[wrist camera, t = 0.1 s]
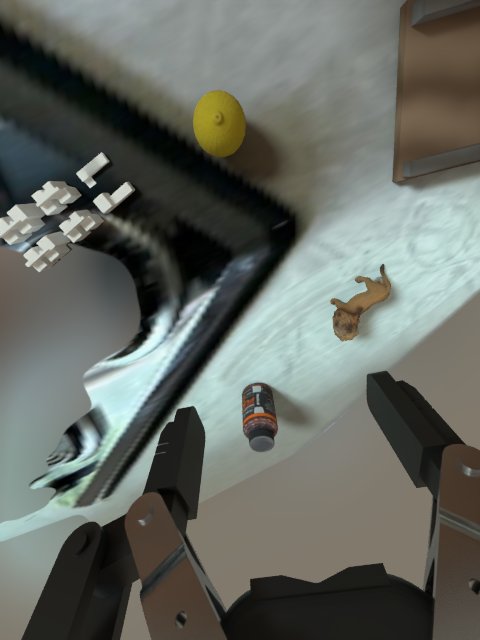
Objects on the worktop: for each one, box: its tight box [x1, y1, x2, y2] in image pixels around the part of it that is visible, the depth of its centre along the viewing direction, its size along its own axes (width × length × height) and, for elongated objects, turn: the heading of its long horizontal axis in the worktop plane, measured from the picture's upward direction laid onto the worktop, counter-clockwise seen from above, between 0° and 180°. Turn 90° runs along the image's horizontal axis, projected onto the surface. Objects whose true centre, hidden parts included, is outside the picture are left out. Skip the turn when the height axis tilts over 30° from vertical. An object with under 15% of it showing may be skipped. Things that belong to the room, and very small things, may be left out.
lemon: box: [193, 90, 246, 157], centre depth 27 cm, size 6×6×8 cm
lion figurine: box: [331, 264, 391, 341], centre depth 37 cm, size 12×4×7 cm, turn 145°
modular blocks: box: [0, 153, 135, 272], centre depth 33 cm, size 20×7×4 cm, turn 124°
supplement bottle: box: [242, 383, 278, 452], centre depth 45 cm, size 6×6×11 cm
